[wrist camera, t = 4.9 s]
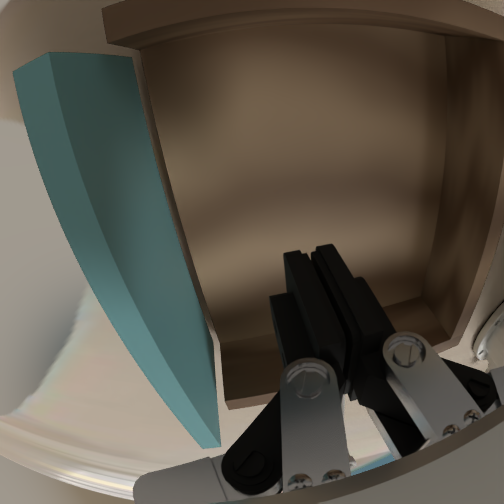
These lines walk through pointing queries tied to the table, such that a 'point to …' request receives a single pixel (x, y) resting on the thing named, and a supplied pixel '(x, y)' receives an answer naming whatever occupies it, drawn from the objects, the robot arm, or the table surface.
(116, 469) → the table surface
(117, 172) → the teal panel
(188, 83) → the crate
